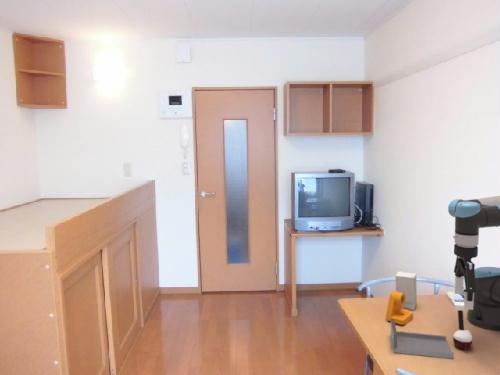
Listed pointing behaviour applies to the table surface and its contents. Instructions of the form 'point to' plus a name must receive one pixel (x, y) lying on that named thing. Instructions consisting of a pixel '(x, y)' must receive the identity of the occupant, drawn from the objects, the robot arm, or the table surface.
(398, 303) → the bracket
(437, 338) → the grey dustpan
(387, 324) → the table surface
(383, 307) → the table surface
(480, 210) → the robot arm
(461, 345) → the cocoa
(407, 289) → the skincare box
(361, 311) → the table surface
